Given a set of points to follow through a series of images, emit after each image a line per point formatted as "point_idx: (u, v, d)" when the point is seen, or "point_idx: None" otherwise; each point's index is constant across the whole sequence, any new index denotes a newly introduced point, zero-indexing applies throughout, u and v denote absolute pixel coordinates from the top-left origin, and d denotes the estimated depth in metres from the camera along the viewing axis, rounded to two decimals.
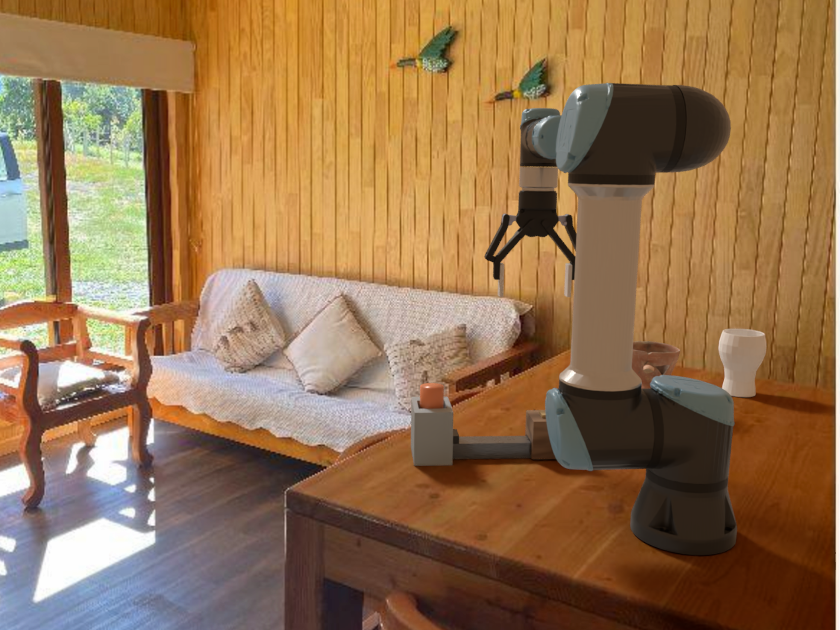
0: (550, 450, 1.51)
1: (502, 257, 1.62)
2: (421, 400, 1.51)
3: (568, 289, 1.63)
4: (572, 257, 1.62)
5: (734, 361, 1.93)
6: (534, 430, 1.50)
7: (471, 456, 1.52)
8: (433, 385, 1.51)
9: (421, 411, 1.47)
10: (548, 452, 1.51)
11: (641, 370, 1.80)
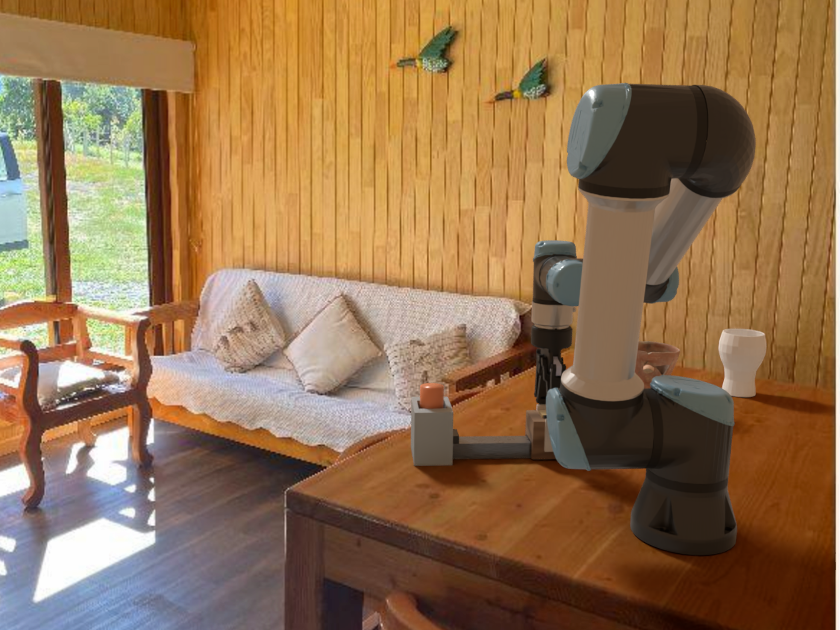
0: None
1: (537, 396, 1.57)
2: (421, 400, 1.51)
3: (544, 442, 1.51)
4: None
5: (734, 361, 1.93)
6: (534, 430, 1.50)
7: (471, 456, 1.52)
8: (433, 385, 1.51)
9: (421, 411, 1.47)
10: (548, 452, 1.51)
11: (641, 370, 1.80)
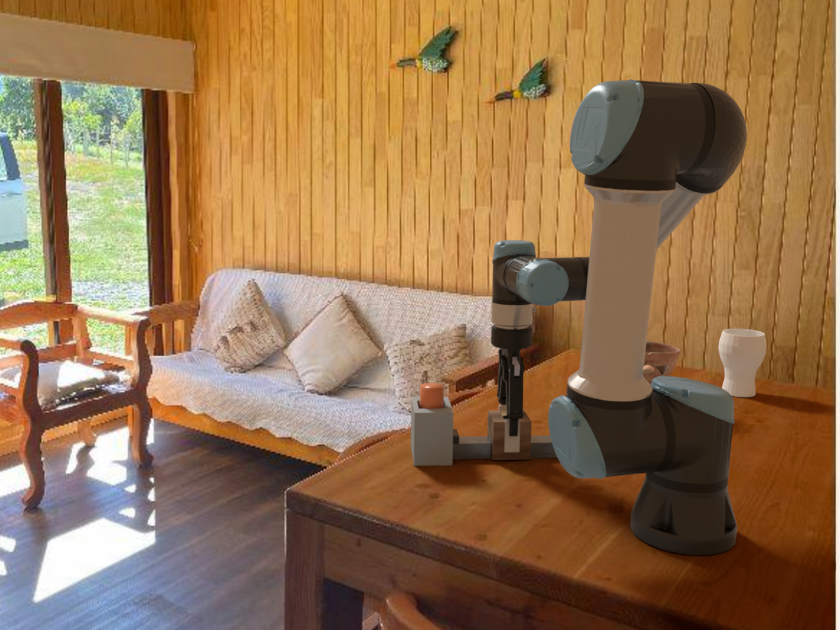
0: None
1: (499, 396, 1.57)
2: (421, 400, 1.51)
3: (504, 443, 1.50)
4: (507, 410, 1.48)
5: (734, 361, 1.93)
6: (494, 430, 1.50)
7: (471, 456, 1.52)
8: (433, 385, 1.51)
9: (421, 411, 1.47)
10: (509, 453, 1.51)
11: None
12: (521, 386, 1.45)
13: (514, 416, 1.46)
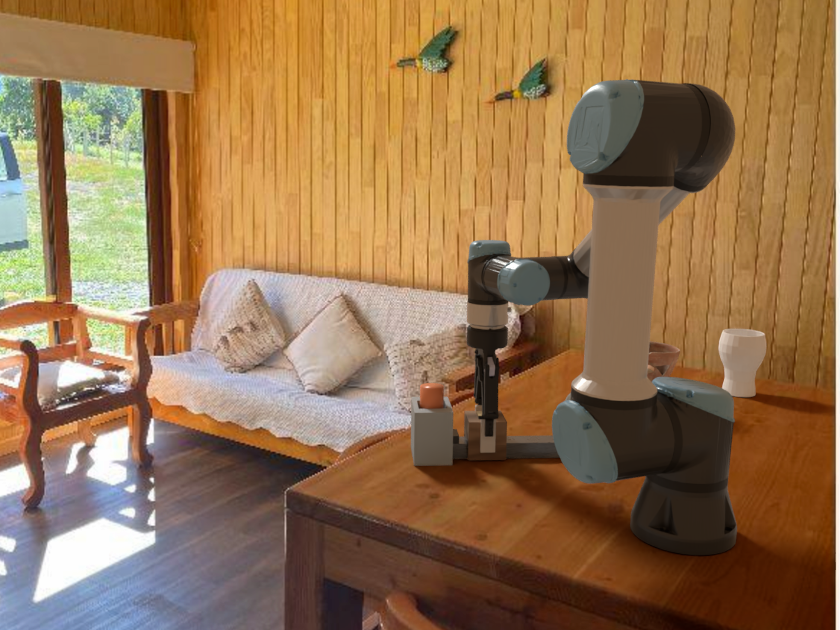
0: None
1: (476, 396, 1.56)
2: (421, 400, 1.51)
3: (480, 443, 1.50)
4: (482, 410, 1.48)
5: (734, 361, 1.93)
6: (470, 431, 1.50)
7: None
8: (433, 385, 1.51)
9: (421, 411, 1.47)
10: (485, 453, 1.51)
11: None
12: (496, 386, 1.45)
13: (489, 416, 1.45)
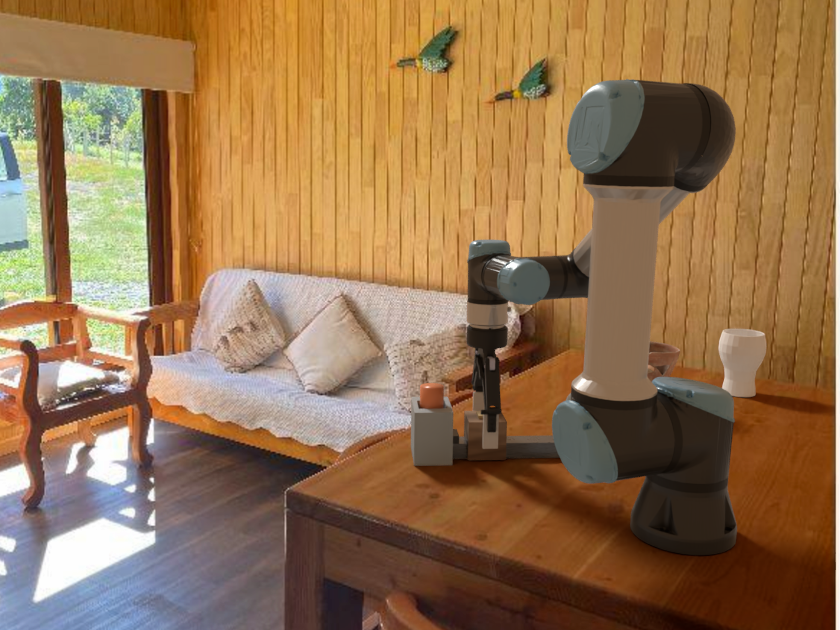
0: (486, 451, 1.50)
1: (474, 385, 1.59)
2: (421, 400, 1.51)
3: None
4: (484, 405, 1.45)
5: (734, 361, 1.93)
6: (470, 431, 1.50)
7: None
8: (433, 385, 1.51)
9: (421, 411, 1.47)
10: (485, 453, 1.51)
11: None
12: (497, 380, 1.44)
13: (492, 410, 1.42)
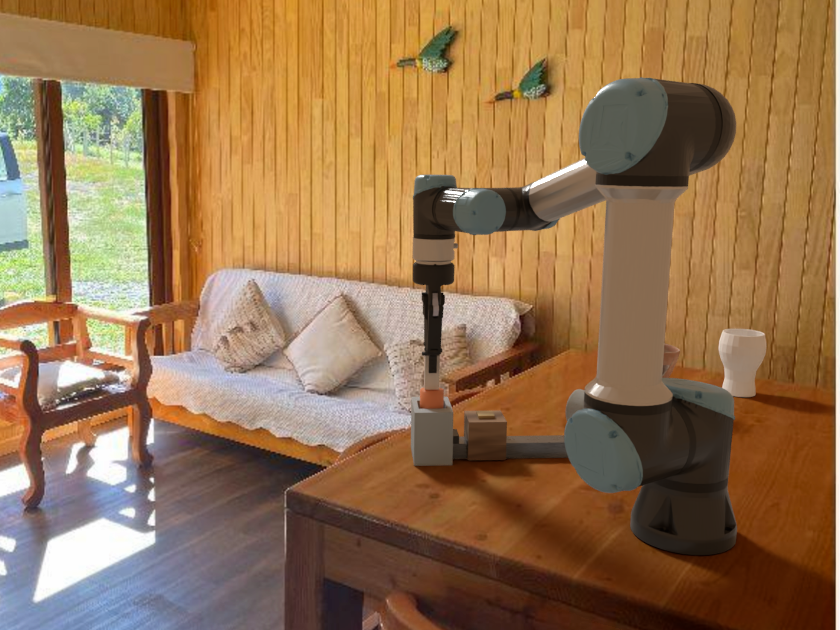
0: (486, 451, 1.50)
1: (425, 343, 1.51)
2: (421, 404, 1.51)
3: (424, 380, 1.51)
4: (426, 347, 1.48)
5: (734, 361, 1.93)
6: (470, 431, 1.50)
7: None
8: None
9: (421, 411, 1.47)
10: (485, 453, 1.51)
11: None
12: (440, 326, 1.44)
13: (432, 353, 1.46)
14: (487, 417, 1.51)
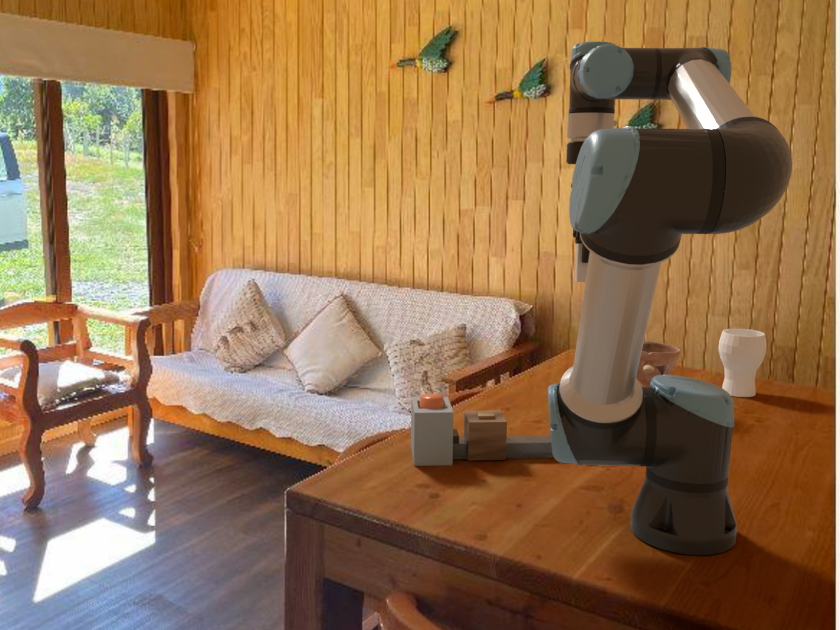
0: (486, 451, 1.50)
1: (577, 232, 1.40)
2: None
3: (576, 272, 1.40)
4: None
5: (734, 361, 1.93)
6: (470, 431, 1.50)
7: None
8: (433, 396, 1.52)
9: (421, 411, 1.47)
10: (485, 453, 1.51)
11: (641, 370, 1.80)
12: None
13: None
14: (487, 417, 1.51)
